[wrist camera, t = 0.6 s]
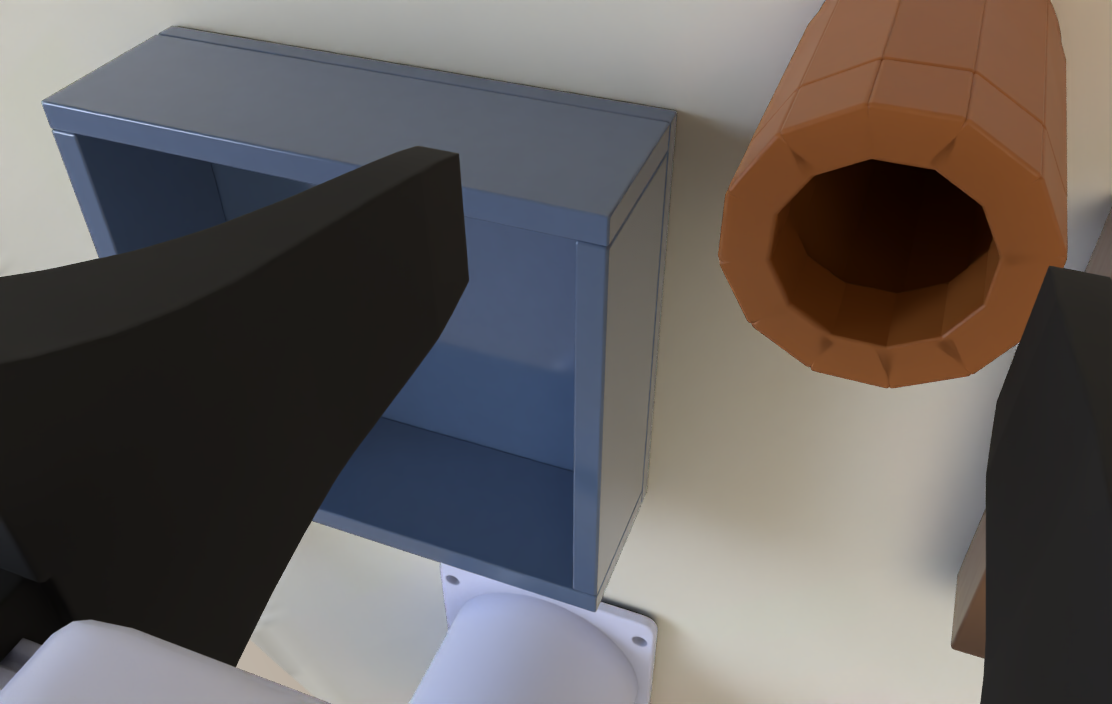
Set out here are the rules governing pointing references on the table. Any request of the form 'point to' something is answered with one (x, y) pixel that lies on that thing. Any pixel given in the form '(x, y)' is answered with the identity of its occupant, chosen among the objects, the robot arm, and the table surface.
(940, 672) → the table surface
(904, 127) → the jar
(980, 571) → the panel
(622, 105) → the blue open tray
